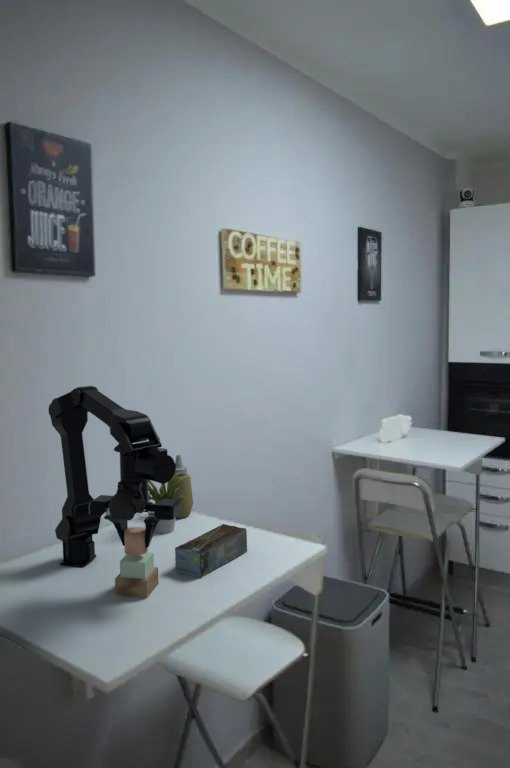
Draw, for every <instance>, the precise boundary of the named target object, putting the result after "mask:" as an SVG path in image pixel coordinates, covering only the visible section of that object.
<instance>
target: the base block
mask: <svg viewBox="0 0 510 768" xmlns="http://www.w3.org/2000/svg"><path fill="white" fill-rule="evenodd" d="M159 583H160V582H159V567H157V566H154V569H153V570H152V571H151V573H150V574H149V575H148V576H147V577H146V579H137V578H124V577H120V573H119V574H118V575H117V576H116V577H115V578H114V590H115V591H114V593H115V596H117V597H118V596H119V597H127V598H128V597H129V598H139V599H140V598H142V599H148V598H149V597H150V595H151V594H152V593H153V591H155V589H156V588H157V587H158V585H159Z"/></svg>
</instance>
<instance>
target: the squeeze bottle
mask: <svg viewBox="0 0 510 768" xmlns="http://www.w3.org/2000/svg"><path fill="white" fill-rule="evenodd" d="M174 462H175V464H176V470H175V474H177V473H179V472H181V473H179V474H178V475H177V477H176V479H175V480H174V482H173V484H172V486H171V488H172V487H173V486H174V484H175V483H176V482H178V481H179V480H180V479H182V480H184V479H187V480H185V481H183V482H182V483H180V482H181V481H182V480H181V481H180V482H179V483H180V484H179V483H178V484H179V486H178V487H177V488H179V489H178V490H177V491H176V493H175V494H174V496H173V498H172V499H174V498H175V497H177V496H179V495H183V496H185V497H178V498H176V499H181V500H183V501H179V502H180V503H181V512H180V513H179V514H178V515H177V516H176V519H184V518H187V516H188V517H189V516H190V515H191V512H192V510H193V507H194V498H193V489H192V481H191V480H192V479H188V478H191V476H190V474H189V473H188V470H187V469H188V467H187V466H184V465H183V464H184V463H183V460H182V456H181V454H177V455H176V457H175V460H174ZM175 474H174V475H175ZM169 483H170V481H169V482H167V483H166V491H167V490H168V486H169ZM173 488H174V487H173ZM173 488H172V489H173ZM177 488H176V489H177ZM183 517H184V518H183Z"/></svg>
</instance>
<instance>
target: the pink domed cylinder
mask: <svg viewBox="0 0 510 768" xmlns="http://www.w3.org/2000/svg"><path fill="white" fill-rule="evenodd" d="M145 529H146V527H142V526H133V527H129V528H128V529H126V530H125V531H124V554H125V555H126V554H127V555H131V556H137V555H142V554H145V553H146V552H147V553H148V549H149V547H148V548H146V546H145Z"/></svg>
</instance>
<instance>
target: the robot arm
mask: <svg viewBox="0 0 510 768" xmlns="http://www.w3.org/2000/svg"><path fill="white" fill-rule="evenodd" d="M88 413H90V414H92V415H93V416H94V417H96V418H97V419H98V420H100V421H101V422H102V423H104V424H105V425H107V427H108V428H109V434H110V436H111V437H112V438H114V440H115V441H116V443H118V444H117V445H116V446H115V447H114V448H113V452H117V453H119V473H120V474H119V477H120V478H119V479H120V480H119V481H117V489H116V492H115V494H114V495H108V494H107V495H106V494H101V495H99V496H97V497H95V498H93V496H92V495H91V494H90V490H89V489H90V488H89V480H88V471H87V462H86V455H85V454H86V453H85V447H84V446H85V444H84V437H83V432H84V430H85V428H86V426H87V424H88V421H89V420H88V418H89V416H88ZM48 415H49V417H50V421H51V426H52V427H53V428H54V429H55V432H57V433H58V435H59V436H60V441H61V451H62V459H63V467H64V476H65V484H66V486H65V487H66V492H67V493H66V496H67V497H66V499H65V501H64V504H63V505H62V507H61V516H62V517H61V520H60V521H59V523H58V525H56V528H55V529H54V533H55V535H56V536H55V537H56V539H57V540H59V541H61V542H62V558H63V559H62V560H61V561H60V562H59V565H60V566H72V567H73V566H74V567H84V568H85V567H86V566H87V565H88V564H89V563H91V562H92V561H93V560H94V559H96V557H97V554H96V549H95V545H96V544H95V541H94V539H93V535H98V533H99V530H100V524H101V519H102V515H104V514H105V515H104V517H103V519H104V520H108V521H109V522H111V523H112V524H113V526H114V528H115V530H116V531H117V533H118V537H119V539H120V542H121V543H122V546H124V531H125V530H126V529H128V524H129V523H128V522H129V521H130V520H131V521H132V520H133V519H134V517H135V515H137V514H142V513H147V516H146V517H145V519H143V522H144V525H145V528H146V529H145V546H146V548H148V549H149V547H150V544H151V542H152V539H153V536H154V534H155V529H156V526H157V524H158V522H159V521H160V520H173V519H174V518H175V517H176V516H177V515H178V514H179V513H180V512H181V503H180V502H179V500H176V499H162V500H161V501H160V502H159V503H155V502H154V503H153V502H152V503H149V501H150V502H151V501H152V500H151V497H152V495H150V494H149V491H148V484H149V482H150V481H151V482H155V483H159V484H161V483H165V484H167V482H169V481H170V480H171V479H172V478H173V476H174V474H175V470H176V464H175V460H174V458H173V457H172V456H171V455H168V449H167V448H163V447H162V446H163V445H162V442H161V439H160V436H159V435H158V434H157V431H156V429H155V426H154V425H153V423H152V421H151V419H150V417H149V416H148V415H147V414H145V413H143V412H140V411H138V410H132V409H126V408H124V407H123V406H121V405H120V404H118V403H116V402H115V401H114V400H112V399H110V398H109V397H108V396H107V395H104V393H102V392H101V391H99V389H98V388H97V386H93V385H85V386H77V387H76V388H73V389H72V390H70V392H67V393H64V394H63V395H61V396H59V397H55V398H53V400H51V403H49V405H48Z"/></svg>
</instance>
